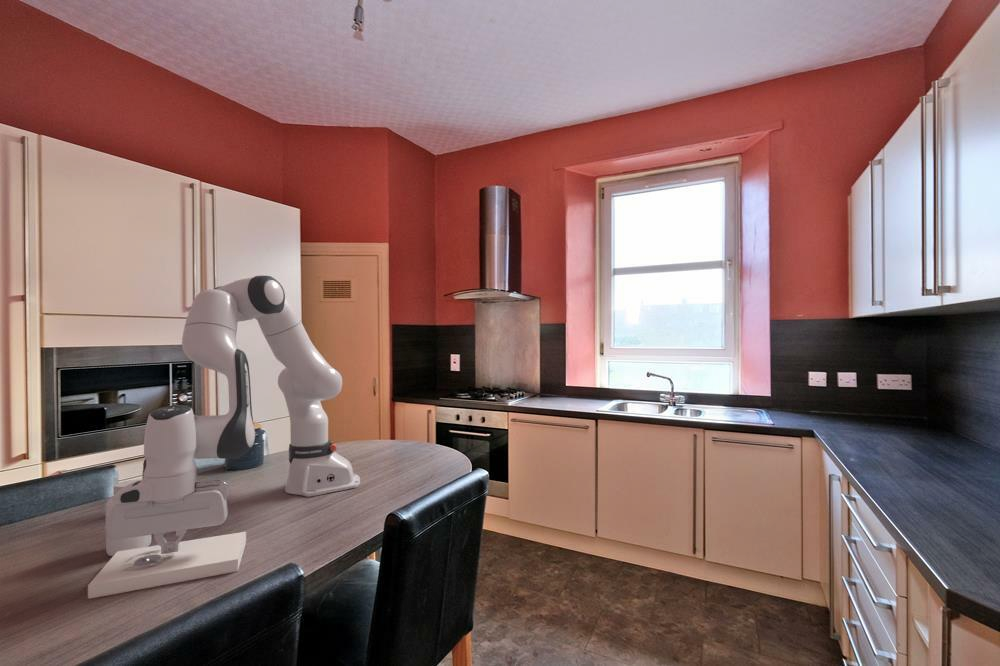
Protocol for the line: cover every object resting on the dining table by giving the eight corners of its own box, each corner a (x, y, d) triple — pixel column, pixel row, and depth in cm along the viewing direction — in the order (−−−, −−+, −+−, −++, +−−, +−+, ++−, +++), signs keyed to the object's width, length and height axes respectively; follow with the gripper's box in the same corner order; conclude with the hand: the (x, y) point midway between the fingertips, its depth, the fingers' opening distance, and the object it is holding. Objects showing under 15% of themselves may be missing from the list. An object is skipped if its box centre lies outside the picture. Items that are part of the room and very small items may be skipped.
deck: (246, 542, 105) (246, 531, 105) (237, 571, 92) (237, 559, 92) (117, 563, 95) (117, 551, 95) (87, 598, 82) (87, 585, 82)
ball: (138, 553, 92) (133, 569, 92) (133, 560, 89) (128, 576, 89) (156, 554, 94) (152, 570, 93) (152, 560, 91) (147, 577, 90)
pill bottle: (123, 541, 105) (123, 477, 105) (159, 540, 106) (159, 476, 106) (95, 558, 97) (96, 489, 97) (135, 556, 98) (135, 488, 98)
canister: (234, 460, 173) (234, 415, 173) (270, 459, 174) (270, 414, 174) (217, 471, 160) (217, 421, 160) (255, 469, 161) (255, 420, 161)
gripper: (230, 474, 100) (230, 536, 100) (115, 487, 92) (115, 554, 92) (226, 483, 95) (226, 548, 94) (103, 497, 86) (103, 569, 86)
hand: (170, 551), depth 93 cm, fingers closed
